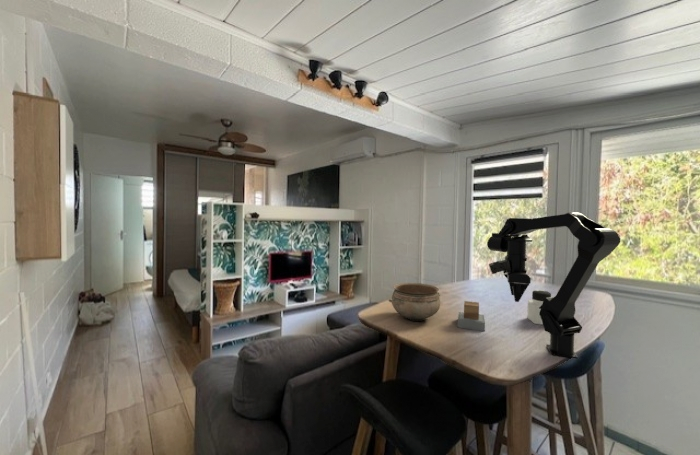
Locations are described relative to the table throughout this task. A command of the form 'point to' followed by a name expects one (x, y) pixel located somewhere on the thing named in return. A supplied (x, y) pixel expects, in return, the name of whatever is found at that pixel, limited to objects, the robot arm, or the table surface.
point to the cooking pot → (415, 300)
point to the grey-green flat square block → (471, 322)
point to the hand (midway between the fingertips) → (514, 298)
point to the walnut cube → (471, 310)
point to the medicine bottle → (536, 305)
